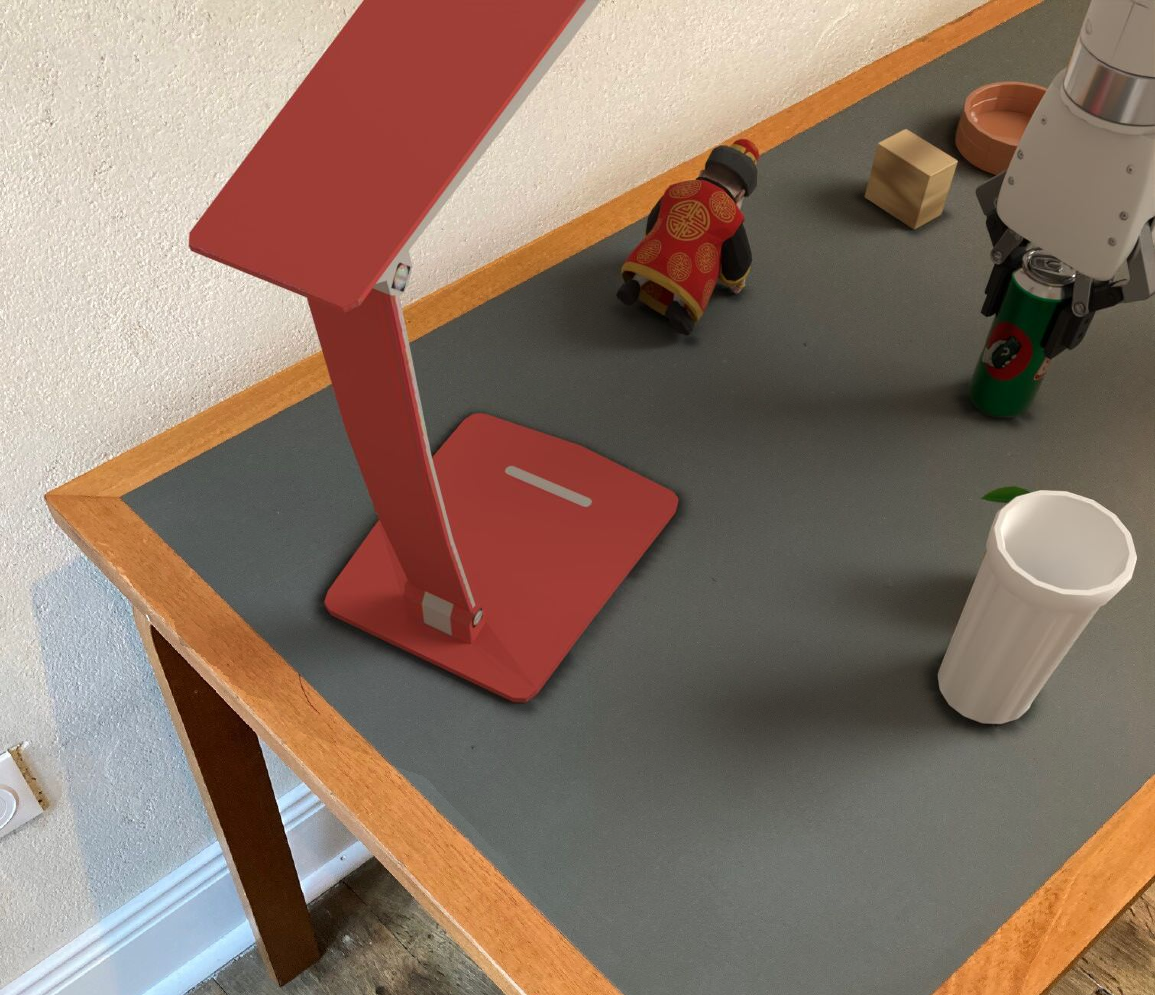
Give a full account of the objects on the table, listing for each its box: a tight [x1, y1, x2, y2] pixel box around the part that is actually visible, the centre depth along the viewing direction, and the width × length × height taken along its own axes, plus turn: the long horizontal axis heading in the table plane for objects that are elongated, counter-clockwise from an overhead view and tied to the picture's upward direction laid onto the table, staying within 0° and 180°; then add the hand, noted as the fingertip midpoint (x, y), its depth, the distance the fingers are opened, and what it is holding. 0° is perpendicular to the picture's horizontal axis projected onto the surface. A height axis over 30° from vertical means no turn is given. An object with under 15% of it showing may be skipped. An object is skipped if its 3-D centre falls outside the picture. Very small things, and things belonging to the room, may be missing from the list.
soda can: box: [967, 246, 1076, 419], centre depth 86 cm, size 5×5×12 cm
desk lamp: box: [188, 0, 679, 703], centre depth 67 cm, size 18×38×40 cm, turn 151°
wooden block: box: [864, 128, 959, 231], centre depth 102 cm, size 6×4×5 cm, turn 39°
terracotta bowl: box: [954, 81, 1048, 176], centre depth 108 cm, size 11×11×3 cm
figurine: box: [615, 138, 760, 336], centre depth 94 cm, size 10×10×15 cm
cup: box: [937, 489, 1138, 725], centre depth 71 cm, size 8×8×14 cm
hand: (1028, 326), depth 86 cm, fingers closed on soda can, 5 cm apart
